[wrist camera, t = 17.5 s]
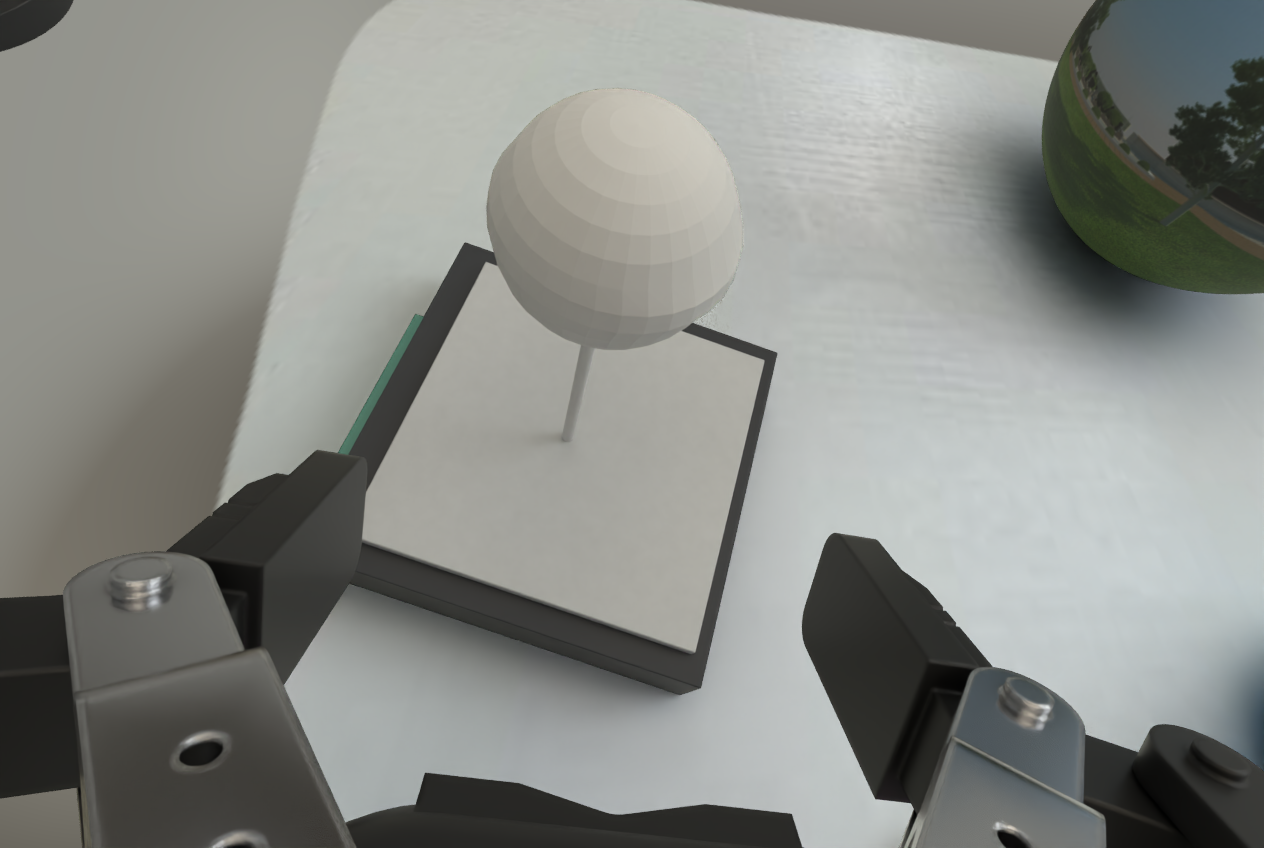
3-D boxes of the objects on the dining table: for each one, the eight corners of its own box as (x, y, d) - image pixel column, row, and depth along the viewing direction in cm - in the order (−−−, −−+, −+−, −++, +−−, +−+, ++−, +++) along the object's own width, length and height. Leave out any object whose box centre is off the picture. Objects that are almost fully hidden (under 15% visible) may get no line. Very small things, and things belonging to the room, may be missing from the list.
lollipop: (673, 446, 28) (840, 158, 14) (565, 542, 25) (645, 300, 12) (569, 344, 29) (633, -10, 15) (457, 425, 26) (417, 87, 13)
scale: (299, 566, 26) (273, 541, 23) (455, 278, 33) (451, 229, 30) (680, 695, 27) (704, 687, 24) (755, 384, 34) (782, 346, 31)
